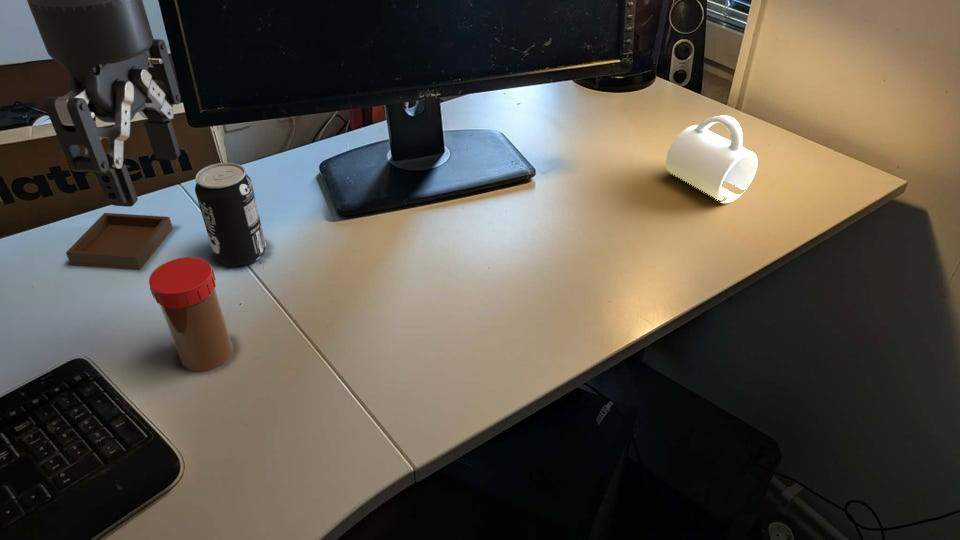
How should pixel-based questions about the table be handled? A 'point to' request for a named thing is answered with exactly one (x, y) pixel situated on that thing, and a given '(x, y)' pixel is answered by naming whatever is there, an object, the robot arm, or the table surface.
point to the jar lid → (182, 282)
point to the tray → (120, 241)
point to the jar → (200, 334)
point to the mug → (712, 158)
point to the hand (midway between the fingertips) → (147, 179)
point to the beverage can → (230, 213)
